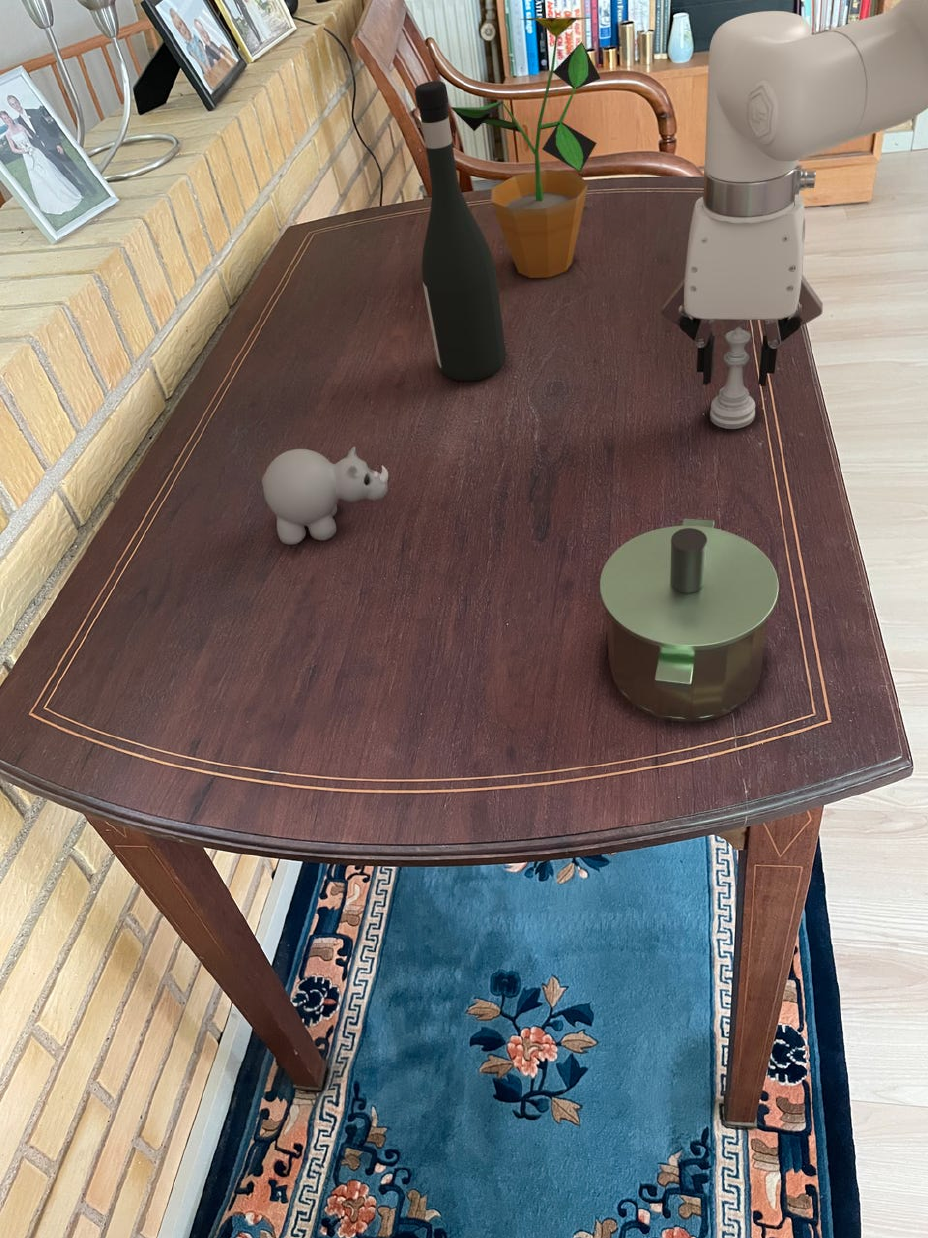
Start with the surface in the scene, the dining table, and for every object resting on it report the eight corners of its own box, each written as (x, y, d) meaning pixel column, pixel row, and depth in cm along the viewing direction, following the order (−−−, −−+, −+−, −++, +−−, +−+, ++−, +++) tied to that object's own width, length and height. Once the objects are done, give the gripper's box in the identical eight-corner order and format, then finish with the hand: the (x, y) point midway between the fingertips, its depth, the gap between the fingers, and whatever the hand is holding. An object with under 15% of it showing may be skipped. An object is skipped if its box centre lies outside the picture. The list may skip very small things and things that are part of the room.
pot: (766, 596, 76) (776, 516, 70) (753, 762, 65) (763, 684, 59) (627, 584, 79) (625, 507, 73) (592, 740, 68) (587, 664, 62)
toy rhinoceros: (398, 537, 88) (379, 465, 82) (275, 555, 88) (248, 485, 82) (397, 492, 93) (380, 420, 87) (282, 509, 94) (256, 440, 88)
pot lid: (781, 542, 68) (788, 487, 65) (772, 666, 60) (780, 612, 57) (615, 530, 72) (613, 478, 68) (586, 646, 64) (582, 594, 60)
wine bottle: (426, 377, 108) (371, 97, 86) (464, 344, 112) (421, 69, 91) (482, 391, 104) (439, 101, 83) (520, 356, 108) (488, 72, 87)
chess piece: (748, 402, 95) (756, 312, 88) (759, 426, 92) (768, 335, 85) (705, 408, 95) (710, 319, 88) (714, 432, 92) (720, 341, 85)
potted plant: (641, 264, 120) (639, -6, 99) (515, 311, 116) (486, 40, 94) (571, 222, 132) (556, -26, 111) (454, 264, 128) (416, 14, 106)
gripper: (856, 165, 77) (827, 359, 90) (653, 174, 82) (653, 356, 95) (857, 203, 73) (826, 401, 85) (641, 209, 77) (642, 396, 90)
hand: (735, 376), depth 90 cm, fingers open, 4 cm apart
